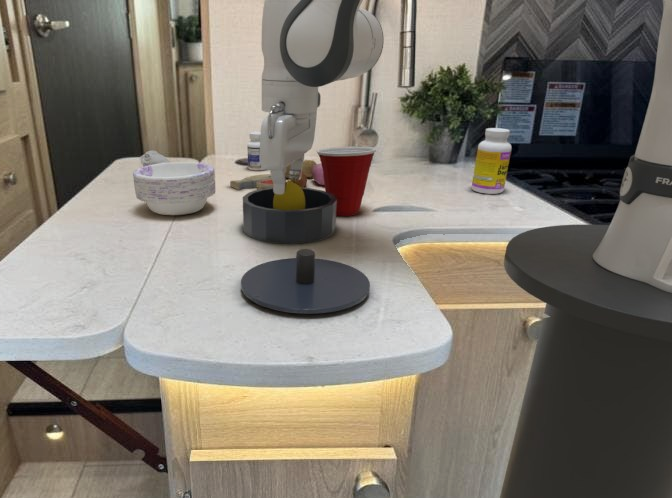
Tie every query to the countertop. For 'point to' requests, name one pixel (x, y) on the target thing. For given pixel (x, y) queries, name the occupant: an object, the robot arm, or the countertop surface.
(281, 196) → the lemon
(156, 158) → the frog figurine
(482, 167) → the supplement bottle
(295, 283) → the lid
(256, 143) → the pill bottle
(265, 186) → the toy food set
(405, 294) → the countertop surface
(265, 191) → the pot
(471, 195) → the countertop surface
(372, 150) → the plastic cup
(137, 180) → the paper bowls
